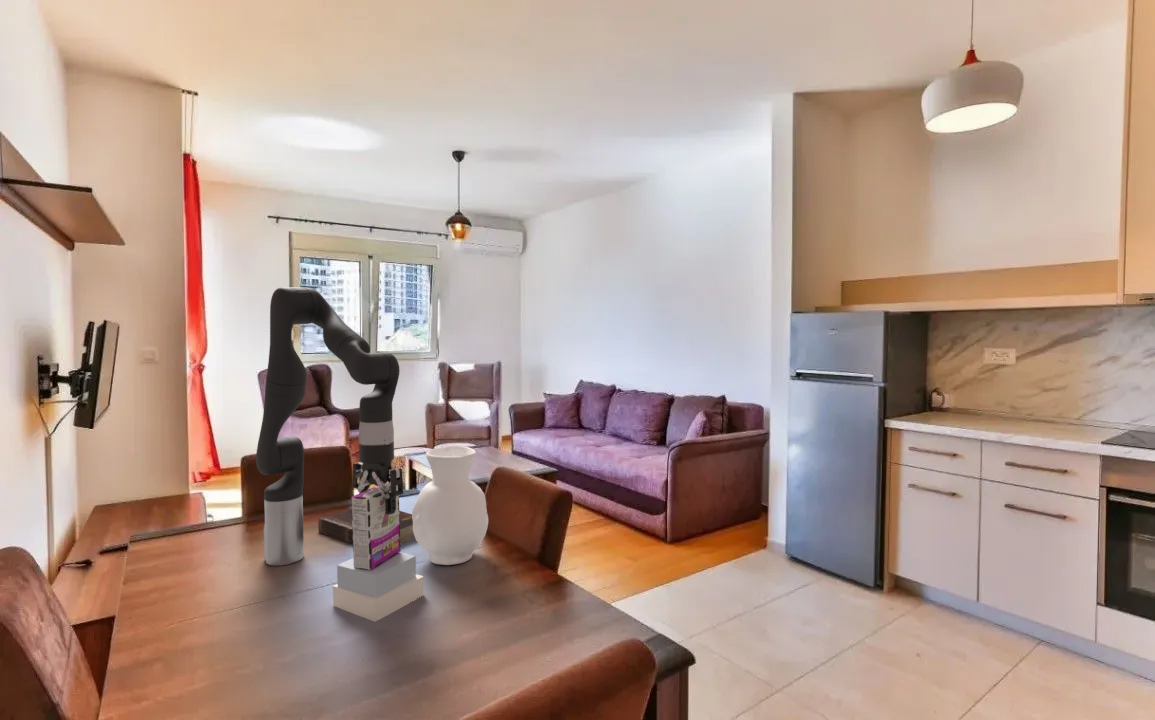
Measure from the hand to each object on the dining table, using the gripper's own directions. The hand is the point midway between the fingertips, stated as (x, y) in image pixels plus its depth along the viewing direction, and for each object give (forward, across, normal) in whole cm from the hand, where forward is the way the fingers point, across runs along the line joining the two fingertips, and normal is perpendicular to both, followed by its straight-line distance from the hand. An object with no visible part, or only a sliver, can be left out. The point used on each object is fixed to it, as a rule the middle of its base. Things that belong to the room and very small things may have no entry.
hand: (377, 510), depth 127 cm
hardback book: (+22, -37, +29) cm, 52 cm away
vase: (+21, -2, +26) cm, 34 cm away
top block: (+17, 0, 0) cm, 17 cm away
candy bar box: (+12, 0, 0) cm, 12 cm away
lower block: (+22, 0, 0) cm, 22 cm away
